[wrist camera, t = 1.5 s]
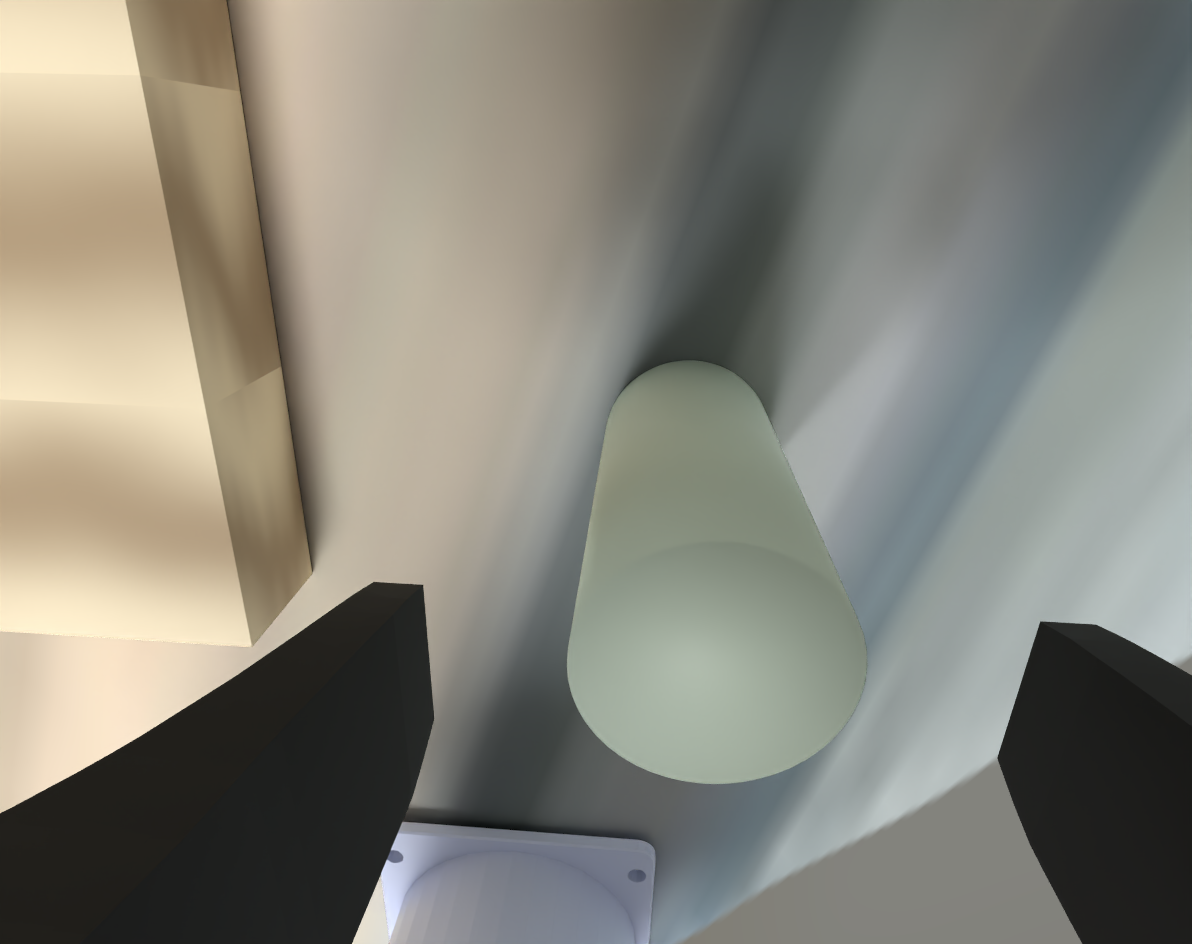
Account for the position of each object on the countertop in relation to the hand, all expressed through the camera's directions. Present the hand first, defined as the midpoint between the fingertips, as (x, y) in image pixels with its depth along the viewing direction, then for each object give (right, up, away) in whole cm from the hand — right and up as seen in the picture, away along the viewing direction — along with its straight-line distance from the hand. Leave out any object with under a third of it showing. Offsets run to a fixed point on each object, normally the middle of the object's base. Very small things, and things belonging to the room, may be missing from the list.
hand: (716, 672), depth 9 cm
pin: (+1, +3, +7) cm, 8 cm away
